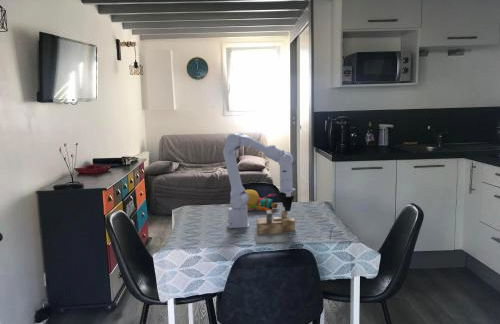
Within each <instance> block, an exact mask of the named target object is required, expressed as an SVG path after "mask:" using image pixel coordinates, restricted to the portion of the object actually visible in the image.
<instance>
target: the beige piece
mask: <svg viewBox="0 0 500 324" xmlns="http://www.w3.org/2000/svg"><path fill="white" fill-rule="evenodd" d="M280 212H281V213H280V214H281V216H276V217H275V216H274V217H273V216H272V218H273V220H274V221H282V220H289V218H290V217H289V216H288V212H289V211H285V209H283V210H281V211H280Z"/></svg>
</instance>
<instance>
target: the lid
mask: <svg viewBox="0 0 500 324" xmlns="http://www.w3.org/2000/svg"><path fill="white" fill-rule="evenodd" d="M265 213H266V215H265V216H266V217H258V218H256V225H257V224H258V225H279V224H282V221H274V220H273V212H272V211H271V210H266V211H265Z"/></svg>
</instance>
